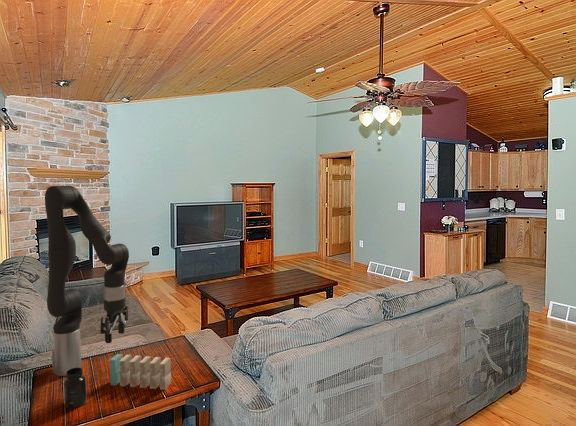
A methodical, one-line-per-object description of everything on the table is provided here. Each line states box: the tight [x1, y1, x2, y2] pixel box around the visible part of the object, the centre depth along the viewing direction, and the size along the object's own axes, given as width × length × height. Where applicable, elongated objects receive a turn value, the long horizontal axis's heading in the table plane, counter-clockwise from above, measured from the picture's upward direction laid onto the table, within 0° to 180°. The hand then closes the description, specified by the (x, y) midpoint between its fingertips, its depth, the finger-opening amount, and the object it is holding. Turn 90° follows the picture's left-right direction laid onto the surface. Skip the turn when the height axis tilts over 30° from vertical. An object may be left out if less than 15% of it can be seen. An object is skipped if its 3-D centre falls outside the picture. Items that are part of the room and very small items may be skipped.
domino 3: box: [129, 355, 142, 388], centre depth 143 cm, size 2×5×10 cm, turn 175°
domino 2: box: [119, 354, 133, 387], centre depth 144 cm, size 2×5×10 cm, turn 173°
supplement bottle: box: [62, 367, 88, 410], centre depth 130 cm, size 7×7×12 cm
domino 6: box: [159, 357, 172, 391], centre depth 142 cm, size 2×5×10 cm, turn 173°
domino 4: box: [139, 355, 152, 389], centre depth 143 cm, size 2×5×10 cm, turn 173°
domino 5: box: [149, 356, 162, 390], centre depth 143 cm, size 2×5×10 cm, turn 173°
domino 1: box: [109, 353, 123, 386], centre depth 144 cm, size 2×5×10 cm, turn 173°
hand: (115, 337), depth 143 cm, fingers open, 8 cm apart
